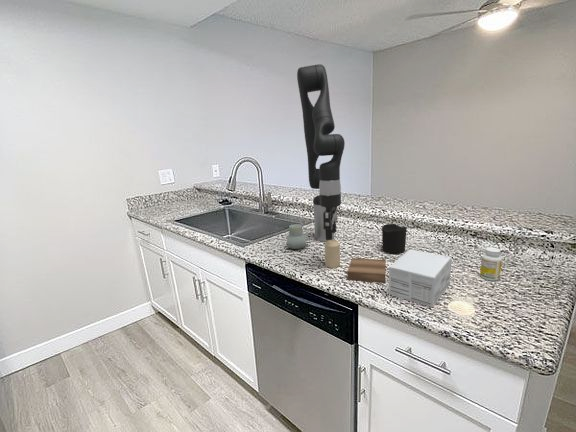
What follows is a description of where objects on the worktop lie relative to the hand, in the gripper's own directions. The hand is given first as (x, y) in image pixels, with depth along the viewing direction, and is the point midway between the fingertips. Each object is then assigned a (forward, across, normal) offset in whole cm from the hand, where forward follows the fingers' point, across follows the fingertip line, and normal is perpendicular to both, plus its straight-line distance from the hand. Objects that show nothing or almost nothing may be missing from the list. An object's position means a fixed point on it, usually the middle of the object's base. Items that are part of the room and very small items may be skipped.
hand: (331, 236), depth 112 cm
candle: (+12, 0, 0) cm, 12 cm away
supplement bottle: (+12, 0, +51) cm, 53 cm away
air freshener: (+12, -17, -19) cm, 28 cm away
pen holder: (+12, -20, +22) cm, 32 cm away
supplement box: (+12, +12, +29) cm, 34 cm away
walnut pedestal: (+12, +4, +13) cm, 18 cm away
